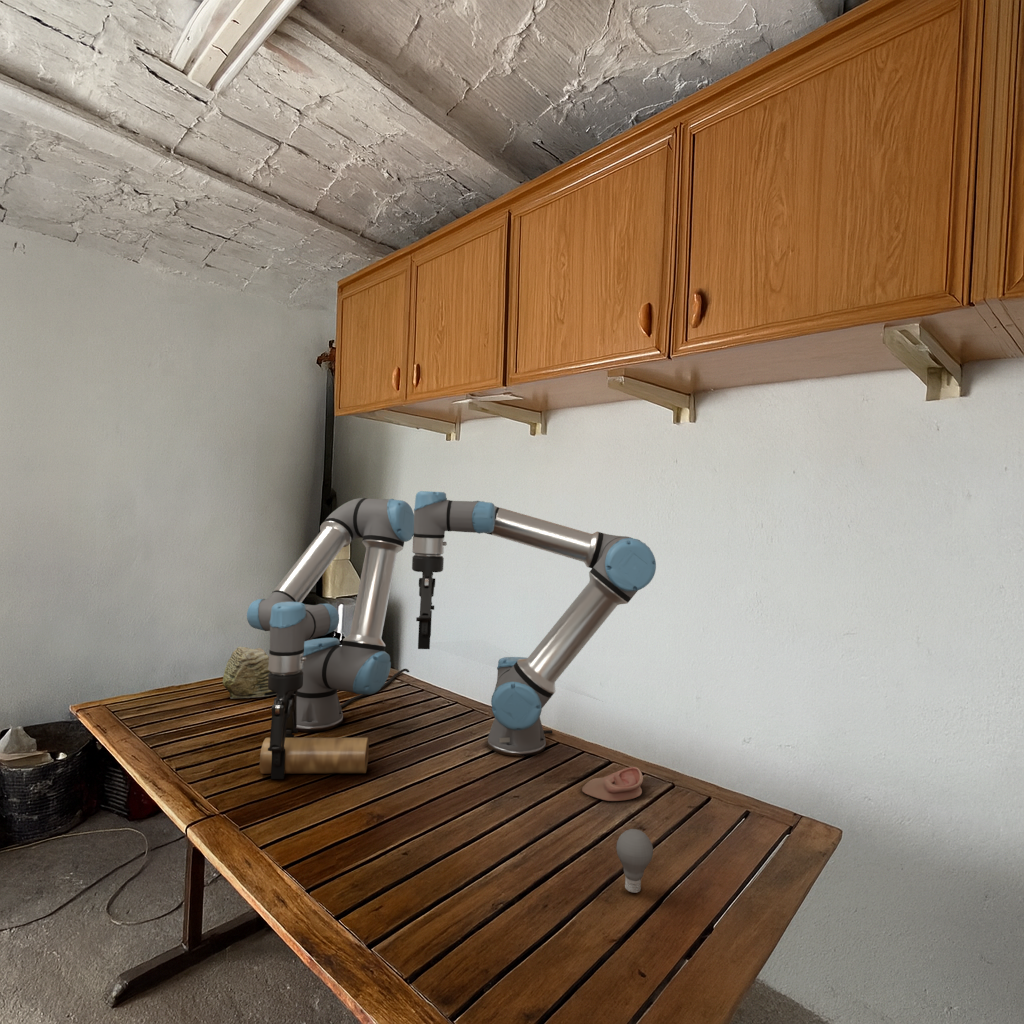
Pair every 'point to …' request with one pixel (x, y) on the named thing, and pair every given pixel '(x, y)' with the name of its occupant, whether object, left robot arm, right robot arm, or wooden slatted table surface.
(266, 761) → the tan wooden cylinder
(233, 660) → the fossil
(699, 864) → the wooden slatted table surface
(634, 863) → the light bulb
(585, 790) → the anatomical model
